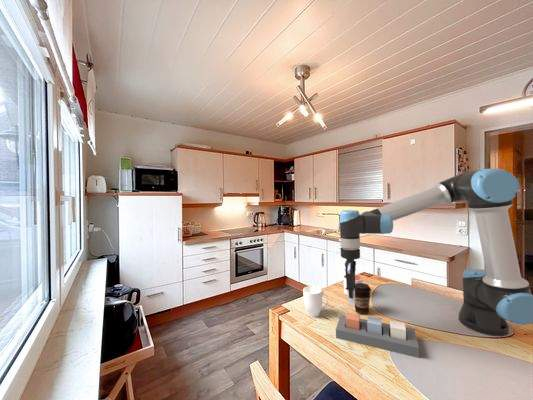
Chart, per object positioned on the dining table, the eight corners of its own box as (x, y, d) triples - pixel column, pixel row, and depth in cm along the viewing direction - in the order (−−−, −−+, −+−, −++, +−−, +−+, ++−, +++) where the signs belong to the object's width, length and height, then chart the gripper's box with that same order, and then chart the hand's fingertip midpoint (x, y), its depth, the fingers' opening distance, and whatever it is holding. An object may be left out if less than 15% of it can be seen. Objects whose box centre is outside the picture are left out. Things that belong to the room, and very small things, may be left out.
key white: (405, 335, 87) (404, 322, 87) (406, 342, 83) (405, 330, 83) (390, 332, 89) (389, 320, 89) (390, 339, 85) (390, 326, 85)
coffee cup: (374, 317, 104) (372, 289, 104) (355, 316, 106) (353, 288, 106) (369, 307, 113) (368, 282, 113) (351, 307, 115) (350, 281, 114)
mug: (305, 319, 105) (304, 293, 105) (303, 310, 114) (301, 286, 114) (330, 318, 105) (329, 292, 105) (326, 309, 114) (325, 285, 114)
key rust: (360, 325, 94) (359, 314, 94) (359, 332, 90) (358, 320, 90) (347, 323, 97) (347, 312, 97) (346, 329, 92) (345, 318, 92)
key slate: (381, 330, 91) (381, 318, 91) (381, 337, 86) (381, 325, 86) (368, 327, 93) (367, 316, 93) (367, 334, 89) (367, 322, 89)
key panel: (414, 337, 89) (414, 328, 89) (419, 357, 78) (419, 347, 78) (340, 322, 102) (340, 314, 101) (336, 337, 91) (335, 329, 91)
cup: (340, 292, 131) (339, 275, 131) (354, 289, 134) (354, 273, 134) (351, 300, 122) (351, 281, 122) (367, 296, 125) (366, 278, 125)
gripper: (343, 243, 100) (344, 296, 101) (337, 250, 89) (339, 310, 89) (361, 245, 97) (362, 299, 97) (358, 252, 85) (359, 314, 86)
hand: (351, 304), depth 93 cm, fingers closed
